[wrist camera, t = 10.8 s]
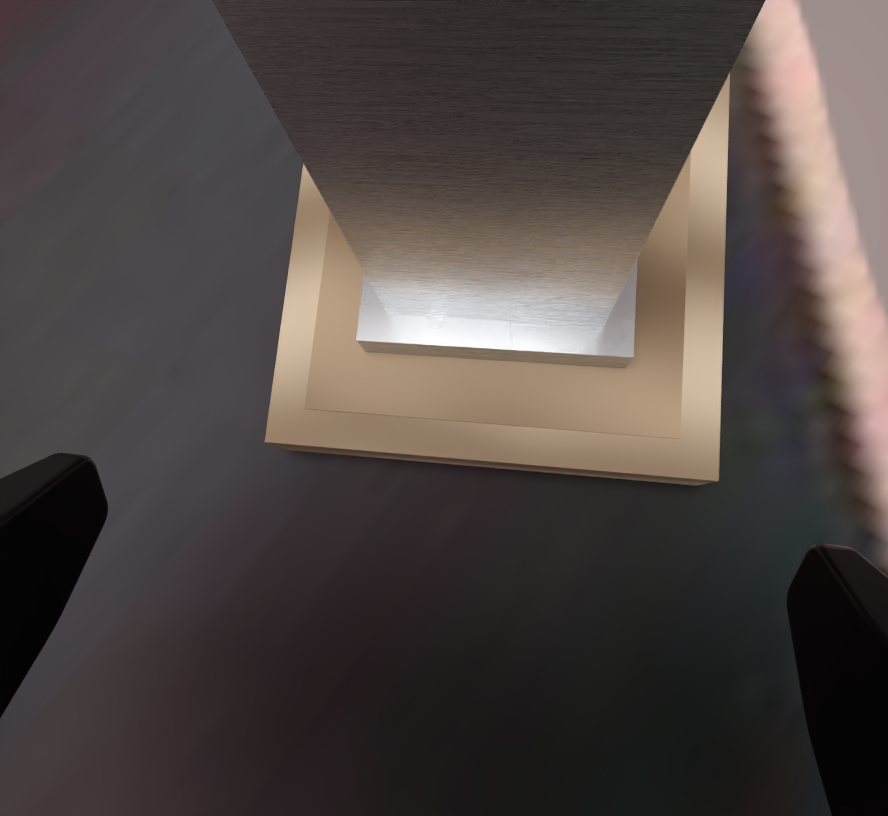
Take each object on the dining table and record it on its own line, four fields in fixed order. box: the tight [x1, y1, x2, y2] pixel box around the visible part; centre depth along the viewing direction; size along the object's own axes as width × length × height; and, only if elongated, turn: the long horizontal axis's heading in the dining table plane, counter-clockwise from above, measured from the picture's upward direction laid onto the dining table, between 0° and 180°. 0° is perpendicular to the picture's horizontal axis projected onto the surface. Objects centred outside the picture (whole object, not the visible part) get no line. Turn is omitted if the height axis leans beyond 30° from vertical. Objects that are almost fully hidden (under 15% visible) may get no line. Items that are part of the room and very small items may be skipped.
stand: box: [265, 73, 730, 486], centre depth 20 cm, size 12×12×2 cm
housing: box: [212, 0, 765, 369], centre depth 12 cm, size 6×7×13 cm
